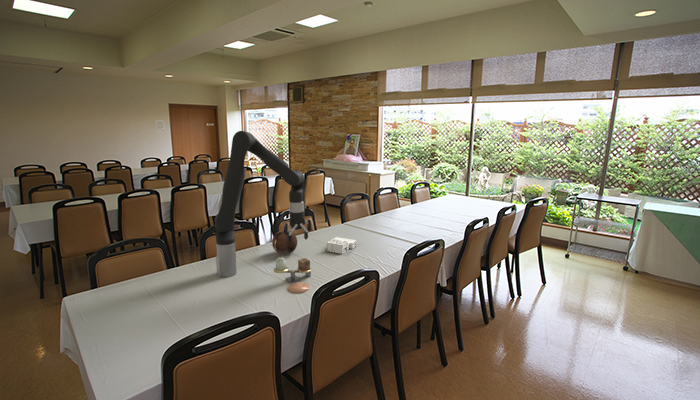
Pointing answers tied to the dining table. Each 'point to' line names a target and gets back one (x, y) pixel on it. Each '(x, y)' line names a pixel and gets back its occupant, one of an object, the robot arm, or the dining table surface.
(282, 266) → the grey cup
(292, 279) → the balance
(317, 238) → the dining table surface
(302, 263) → the walnut block
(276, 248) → the wooden sphere
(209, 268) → the dining table surface
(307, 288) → the terracotta saucer
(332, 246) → the house
